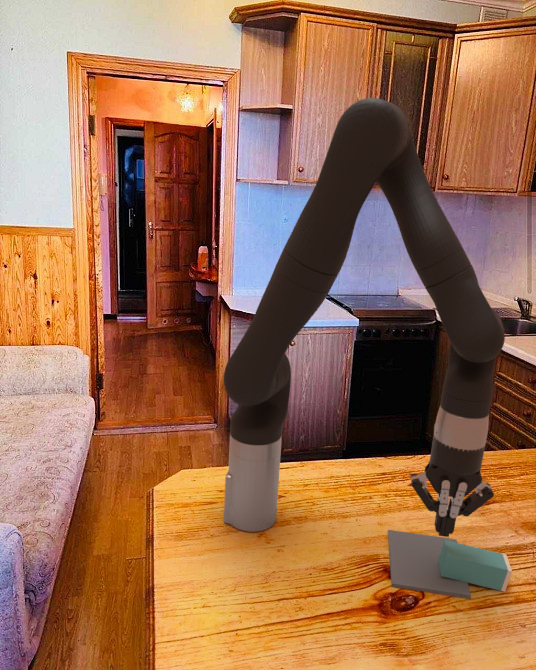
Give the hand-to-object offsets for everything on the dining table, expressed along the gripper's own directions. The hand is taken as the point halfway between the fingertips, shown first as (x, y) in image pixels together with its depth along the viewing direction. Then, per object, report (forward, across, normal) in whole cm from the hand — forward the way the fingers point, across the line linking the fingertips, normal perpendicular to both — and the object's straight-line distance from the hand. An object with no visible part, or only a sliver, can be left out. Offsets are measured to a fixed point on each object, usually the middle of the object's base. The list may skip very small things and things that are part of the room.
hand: (443, 533), depth 91 cm
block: (+4, 0, 0) cm, 5 cm away
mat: (+8, -2, +2) cm, 8 cm away
